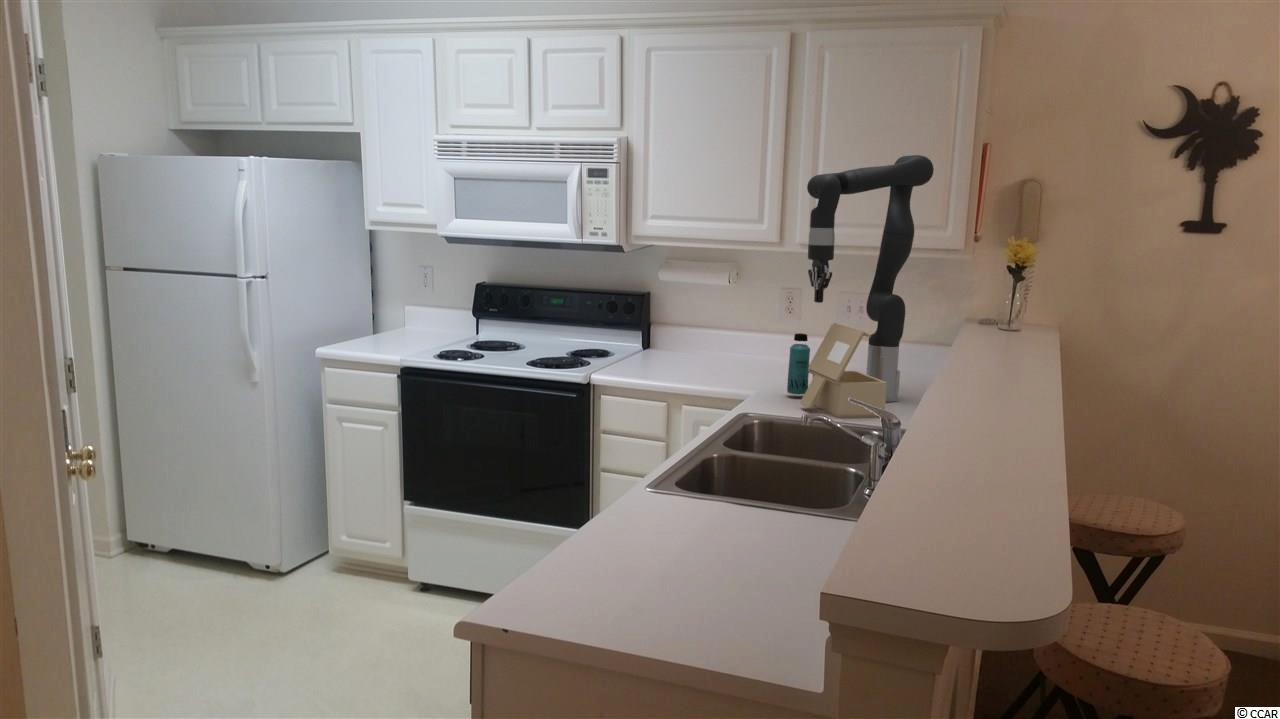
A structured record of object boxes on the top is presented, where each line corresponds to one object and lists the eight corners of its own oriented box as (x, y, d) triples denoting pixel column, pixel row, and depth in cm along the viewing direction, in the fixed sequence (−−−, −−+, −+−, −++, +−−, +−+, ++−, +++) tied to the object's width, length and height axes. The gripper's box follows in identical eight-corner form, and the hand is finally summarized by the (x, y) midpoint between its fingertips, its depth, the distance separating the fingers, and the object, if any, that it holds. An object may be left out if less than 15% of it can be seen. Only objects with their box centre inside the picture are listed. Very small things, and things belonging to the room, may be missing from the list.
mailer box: (854, 403, 287) (856, 370, 286) (884, 417, 268) (886, 382, 267) (811, 403, 284) (812, 370, 283) (838, 417, 265) (840, 382, 264)
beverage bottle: (782, 395, 296) (785, 332, 293) (800, 394, 298) (804, 332, 295) (793, 399, 290) (797, 335, 287) (812, 398, 292) (815, 334, 289)
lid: (840, 326, 283) (832, 322, 282) (871, 335, 263) (862, 330, 262) (798, 402, 284) (791, 398, 283) (826, 417, 264) (818, 412, 263)
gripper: (842, 244, 271) (839, 304, 274) (824, 242, 284) (821, 300, 287) (818, 244, 270) (815, 304, 273) (800, 242, 283) (798, 300, 285)
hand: (818, 302), depth 280 cm, fingers closed
